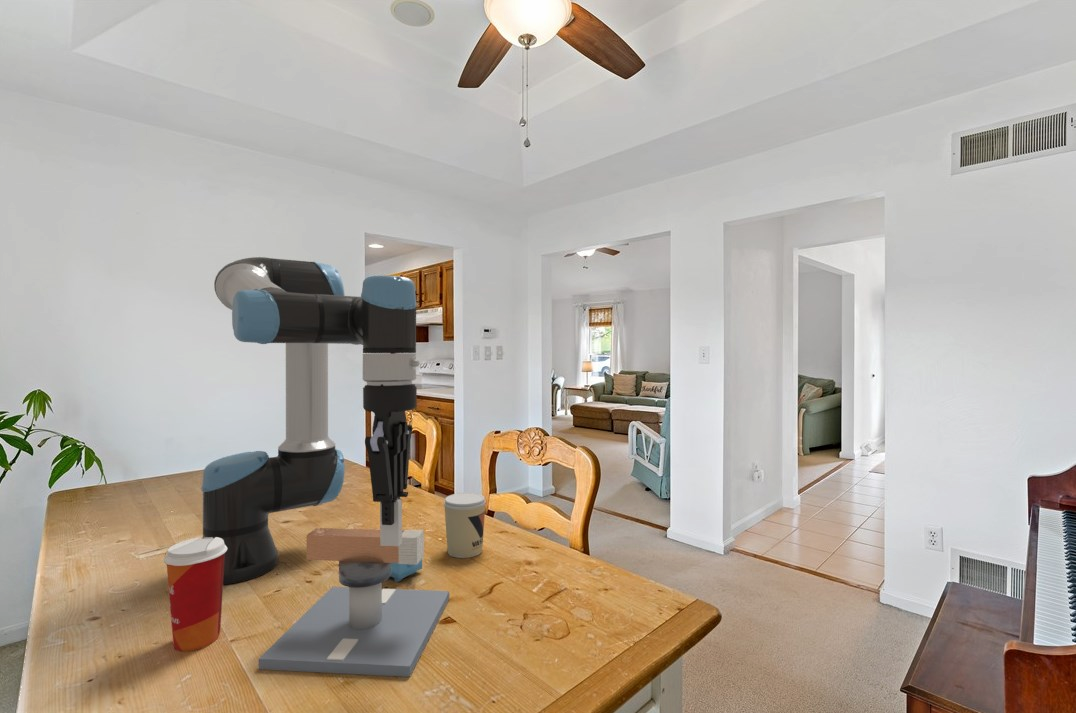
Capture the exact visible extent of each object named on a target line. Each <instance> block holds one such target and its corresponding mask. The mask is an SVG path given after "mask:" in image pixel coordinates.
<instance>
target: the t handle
mask: <svg viewBox="0 0 1076 713" xmlns="http://www.w3.org/2000/svg"><path fill="white" fill-rule="evenodd" d="M424 531H425V530H424V529H404V530H402V543H401V544H400V545H399V546H380V529H366V528H365V529H362V528H359V529H358V528H334V527H333V528H329V527H328V528H327V527H326V528H325V527H324V528H323V527H316V528H314V529H313V530H311V531H310V532H309V533H307V534H306V561H325V562H326V561H327V562H328V561H331V562H338V582H339V583H340V584H341V585H342V586H343V587H353V588H360V587H369V586H373V585H376V584H379V583H383V582H385V581H387V580H388V579H390V578H391V577H390V576H391V563H399V564H415V565H417V564H418V563H419V561H420V560H421V559H422V560H423V557H424V555H425V552H424V551H425V550H424V548H425V547H424V544H425V543H424V541H425V540H424V539H425V538H424V537H425V536H424V535H425V534H424V533H425V532H424Z"/></svg>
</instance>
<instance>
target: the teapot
mask: <svg viewBox="0 0 1076 713" xmlns="http://www.w3.org/2000/svg"><path fill="white" fill-rule="evenodd" d="M422 569H423V558H422V559H421V560H420V561H419V563H418V564H417V565H415V564H399V563H391V576H390V577H389V578H393V579H394V582H401V581H403V579H404V578H406V577H408V576H410V575H415V574H416V572H418V571H420V570H422Z"/></svg>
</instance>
